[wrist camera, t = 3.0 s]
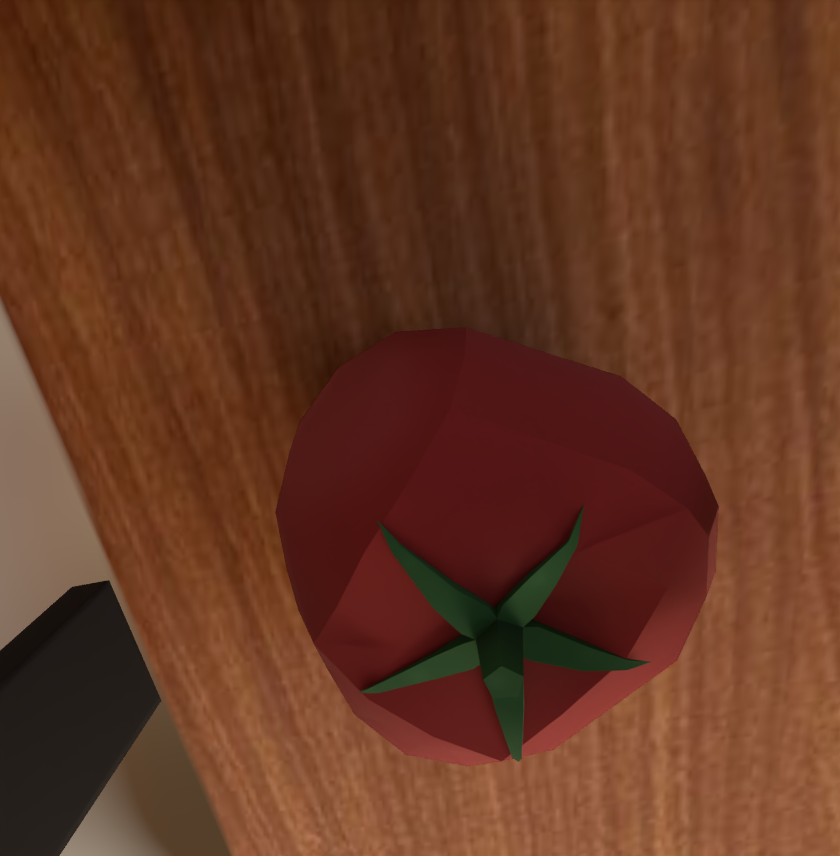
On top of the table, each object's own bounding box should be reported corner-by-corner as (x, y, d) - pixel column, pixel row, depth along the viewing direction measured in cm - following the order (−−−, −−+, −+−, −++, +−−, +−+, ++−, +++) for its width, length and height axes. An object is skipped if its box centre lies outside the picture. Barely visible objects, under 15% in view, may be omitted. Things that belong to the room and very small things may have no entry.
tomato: (705, 407, 14) (936, 576, 7) (531, 654, 16) (578, 956, 10) (399, 245, 13) (330, 257, 6) (266, 527, 16) (113, 753, 9)
